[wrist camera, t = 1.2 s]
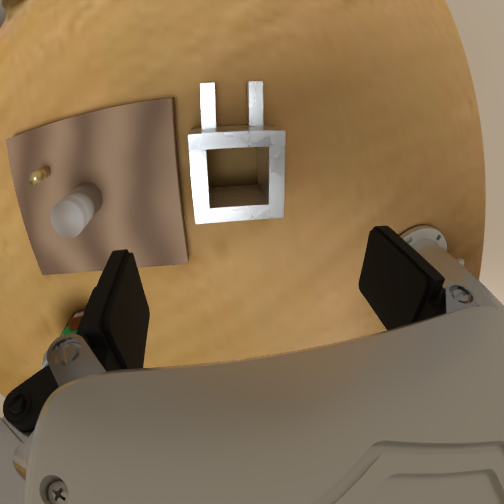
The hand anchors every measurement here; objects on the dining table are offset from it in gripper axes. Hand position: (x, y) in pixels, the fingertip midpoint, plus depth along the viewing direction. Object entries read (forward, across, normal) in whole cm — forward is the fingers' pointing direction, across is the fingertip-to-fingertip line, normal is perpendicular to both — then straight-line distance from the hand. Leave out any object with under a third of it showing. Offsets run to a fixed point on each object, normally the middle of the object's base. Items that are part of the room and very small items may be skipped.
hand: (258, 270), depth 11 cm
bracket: (+17, -1, -2) cm, 17 cm away
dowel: (+16, +17, -2) cm, 24 cm away
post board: (+18, +13, +1) cm, 22 cm away
